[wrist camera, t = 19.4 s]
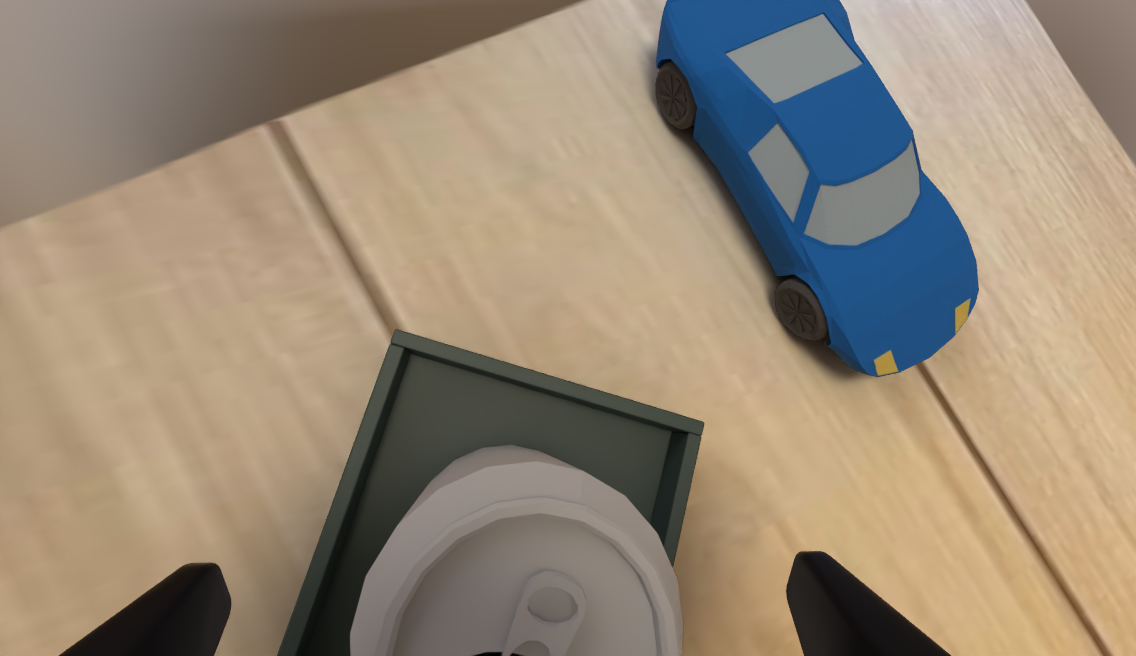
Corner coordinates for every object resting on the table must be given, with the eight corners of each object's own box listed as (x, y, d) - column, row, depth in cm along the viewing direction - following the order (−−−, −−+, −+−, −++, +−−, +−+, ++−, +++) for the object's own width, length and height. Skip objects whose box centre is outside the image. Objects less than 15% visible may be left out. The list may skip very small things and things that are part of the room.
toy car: (825, 407, 26) (906, 403, 21) (624, 58, 27) (656, -21, 22) (957, 321, 28) (1058, 300, 23) (765, 2, 30) (822, -80, 25)
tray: (611, 735, 22) (628, 775, 19) (287, 663, 20) (261, 697, 18) (682, 422, 24) (705, 422, 22) (403, 338, 23) (394, 328, 21)
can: (376, 598, 21) (247, 828, 9) (454, 417, 22) (430, 412, 11) (552, 661, 21) (646, 949, 10) (615, 480, 23) (759, 540, 11)
